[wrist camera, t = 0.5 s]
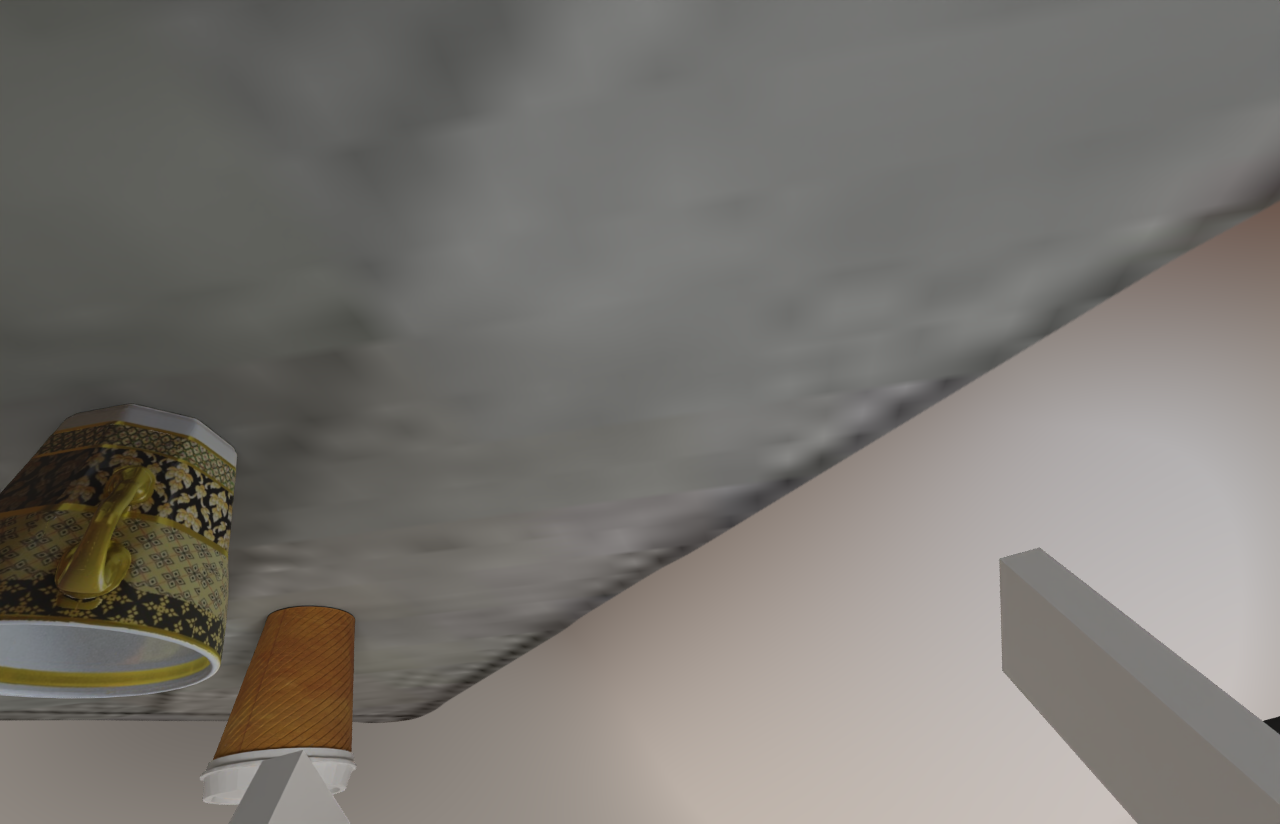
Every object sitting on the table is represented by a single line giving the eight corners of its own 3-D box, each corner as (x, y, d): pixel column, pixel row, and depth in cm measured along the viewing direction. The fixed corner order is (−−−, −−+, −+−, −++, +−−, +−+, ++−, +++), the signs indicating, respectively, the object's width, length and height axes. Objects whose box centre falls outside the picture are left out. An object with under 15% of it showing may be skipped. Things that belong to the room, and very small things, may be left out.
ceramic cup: (252, 511, 34) (198, 701, 28) (15, 471, 29) (-113, 696, 23) (317, 384, 27) (261, 609, 21) (10, 297, 21) (-185, 568, 15)
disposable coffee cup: (381, 635, 53) (361, 794, 46) (260, 640, 51) (218, 810, 44) (370, 595, 46) (343, 777, 39) (227, 599, 43) (170, 795, 36)
